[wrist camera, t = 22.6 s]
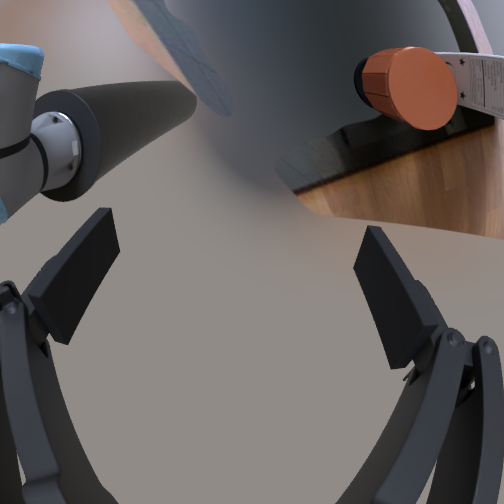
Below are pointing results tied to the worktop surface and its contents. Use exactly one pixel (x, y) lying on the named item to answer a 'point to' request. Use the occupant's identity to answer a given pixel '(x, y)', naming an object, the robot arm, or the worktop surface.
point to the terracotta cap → (411, 87)
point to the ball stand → (361, 82)
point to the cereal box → (478, 81)
